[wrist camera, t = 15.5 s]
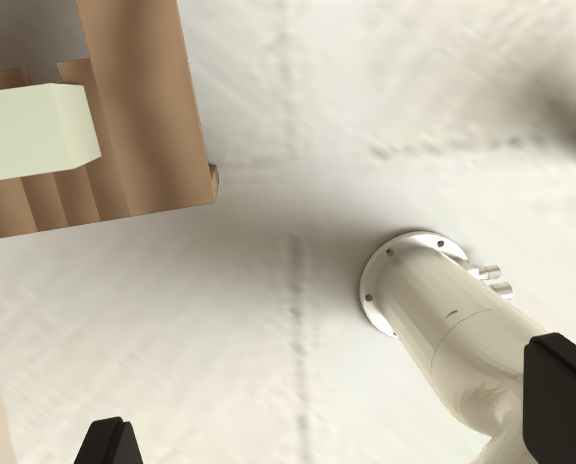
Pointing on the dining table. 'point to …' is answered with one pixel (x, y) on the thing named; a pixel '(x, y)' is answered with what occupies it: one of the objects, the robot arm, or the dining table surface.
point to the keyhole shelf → (121, 125)
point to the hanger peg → (45, 130)
